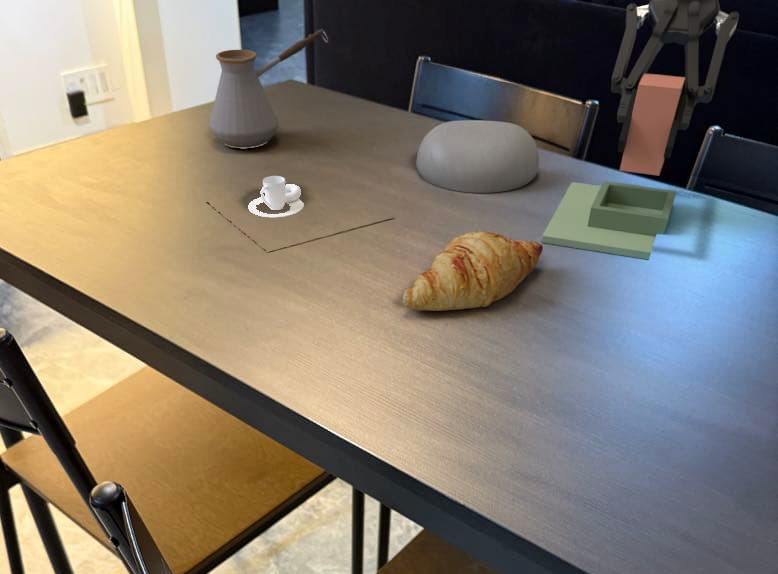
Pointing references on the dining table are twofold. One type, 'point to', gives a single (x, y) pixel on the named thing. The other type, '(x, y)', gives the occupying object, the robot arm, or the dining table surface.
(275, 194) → the teacup and saucer
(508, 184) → the grey dome pebble
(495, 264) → the croissant
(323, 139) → the dining table surface
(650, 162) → the foam block
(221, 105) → the coffee pot
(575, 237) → the socket pad
